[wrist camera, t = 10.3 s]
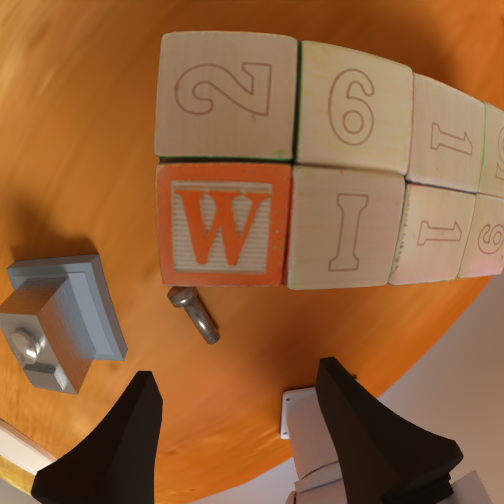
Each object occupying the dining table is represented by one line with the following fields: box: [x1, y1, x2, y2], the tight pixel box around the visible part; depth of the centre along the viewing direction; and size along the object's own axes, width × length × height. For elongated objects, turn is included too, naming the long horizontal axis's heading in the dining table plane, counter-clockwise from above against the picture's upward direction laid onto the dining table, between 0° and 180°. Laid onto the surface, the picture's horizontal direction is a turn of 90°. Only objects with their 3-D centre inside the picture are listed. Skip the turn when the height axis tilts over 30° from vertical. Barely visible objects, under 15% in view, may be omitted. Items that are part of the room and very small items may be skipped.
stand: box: [7, 254, 128, 361], centre depth 20 cm, size 9×9×2 cm
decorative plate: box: [0, 419, 57, 476], centre depth 31 cm, size 25×4×25 cm
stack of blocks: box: [154, 30, 504, 290], centre depth 12 cm, size 21×6×12 cm, turn 87°
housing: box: [0, 277, 97, 395], centre depth 16 cm, size 7×4×6 cm, turn 2°
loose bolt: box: [167, 286, 220, 344], centre depth 20 cm, size 5×2×2 cm, turn 22°
